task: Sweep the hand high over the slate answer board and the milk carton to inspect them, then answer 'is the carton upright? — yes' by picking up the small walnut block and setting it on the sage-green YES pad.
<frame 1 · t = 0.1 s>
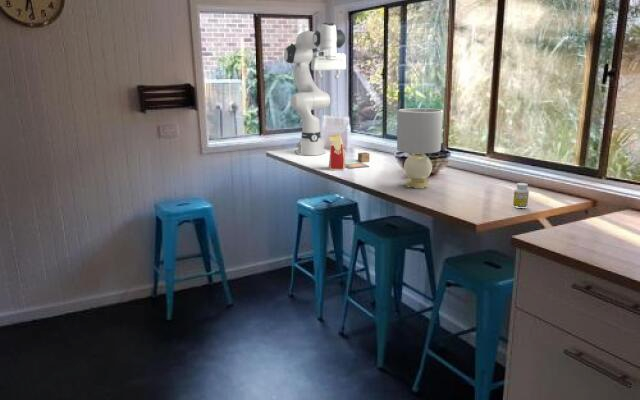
hand: (328, 78, 285), 48 cm above the breakfast bar, tool pointing down, fingers open, 8 cm apart
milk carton: (336, 169, 279), on the breakfast bar
lamp: (417, 186, 239), on the breakfast bar
supplement bottle: (520, 207, 202), on the breakfast bar
answer board: (353, 165, 288), on the breakfast bar
brown wooden cube: (363, 161, 299), on the breakfast bar
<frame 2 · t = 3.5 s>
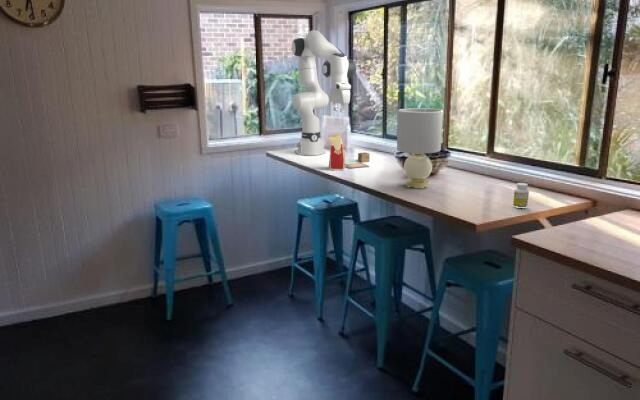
hand: (339, 111, 272), 31 cm above the breakfast bar, tool pointing down, fingers open, 8 cm apart
nothing on the breakfast bar moved.
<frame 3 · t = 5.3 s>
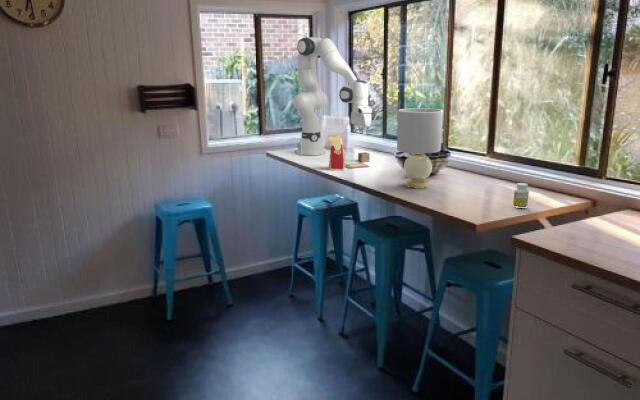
hand: (360, 133, 294), 17 cm above the breakfast bar, tool pointing down, fingers open, 8 cm apart
nothing on the breakfast bar moved.
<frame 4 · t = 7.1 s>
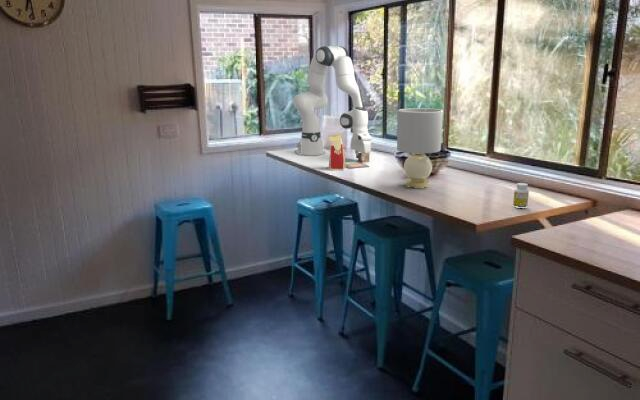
hand: (360, 159, 298), 2 cm above the breakfast bar, tool pointing down, fingers closed on brown wooden cube, 5 cm apart
brown wooden cube: (363, 161, 299), on the breakfast bar, touching gripper
everything else where it was.
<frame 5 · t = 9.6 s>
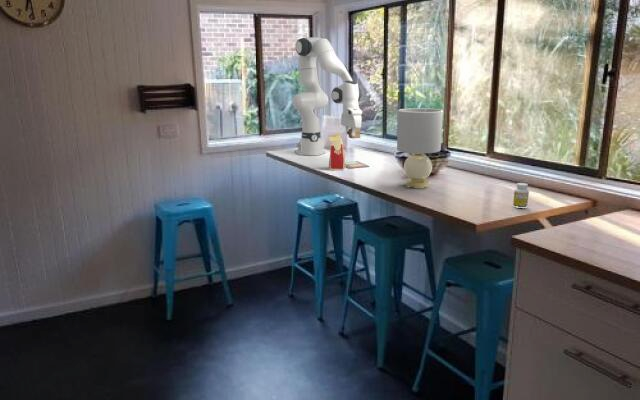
hand: (350, 135, 287), 17 cm above the breakfast bar, tool pointing down, fingers closed on brown wooden cube, 5 cm apart
brown wooden cube: (354, 137, 289), point 15 cm above the breakfast bar, touching gripper
everything else where it was.
when the fingers open (4 cm above the breakfast bar, at t = 12.3 s): brown wooden cube drops 1 cm, resting on answer board.
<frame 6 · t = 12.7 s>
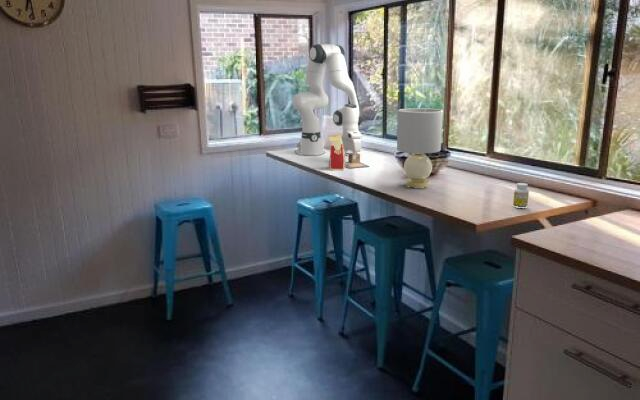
hand: (350, 157, 291), 4 cm above the breakfast bar, tool pointing down, fingers open, 8 cm apart
brown wooden cube: (354, 162, 292), point 1 cm above the breakfast bar, touching answer board
everything else where it was.
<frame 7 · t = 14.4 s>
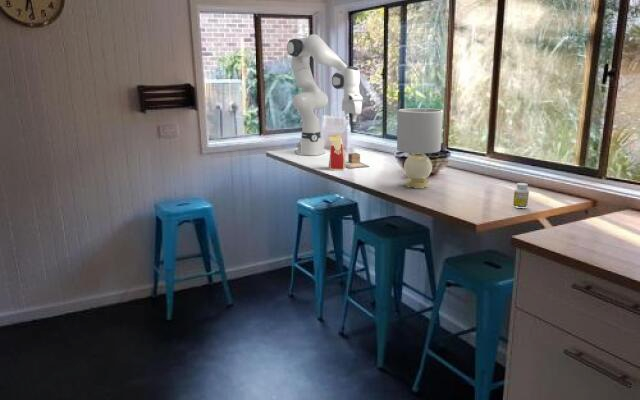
hand: (350, 120, 291), 24 cm above the breakfast bar, tool pointing down, fingers open, 8 cm apart
nothing on the breakfast bar moved.
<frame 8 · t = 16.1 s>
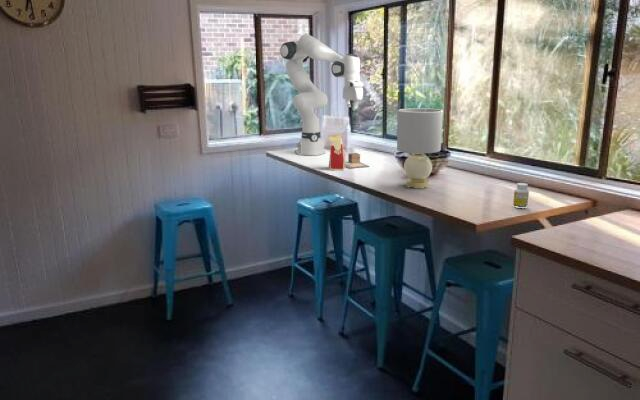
hand: (352, 107, 293), 31 cm above the breakfast bar, tool pointing down, fingers open, 8 cm apart
nothing on the breakfast bar moved.
at the end: brown wooden cube inside the target area on the answer board (2.3 cm from its centre), point 0.8 cm above the answer board's base; brown wooden cube tilted 0°; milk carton moved 0.5 cm from its start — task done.
